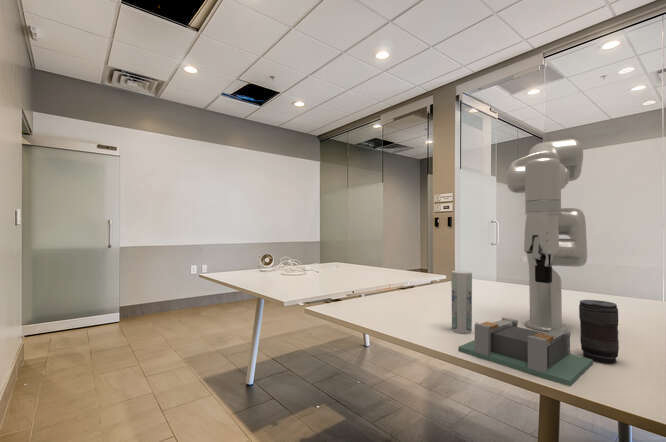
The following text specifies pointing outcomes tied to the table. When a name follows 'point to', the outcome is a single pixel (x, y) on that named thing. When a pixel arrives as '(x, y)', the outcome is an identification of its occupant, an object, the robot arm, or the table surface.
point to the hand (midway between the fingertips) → (543, 282)
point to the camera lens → (599, 330)
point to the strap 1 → (498, 325)
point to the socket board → (528, 352)
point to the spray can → (461, 301)
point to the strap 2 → (551, 336)
